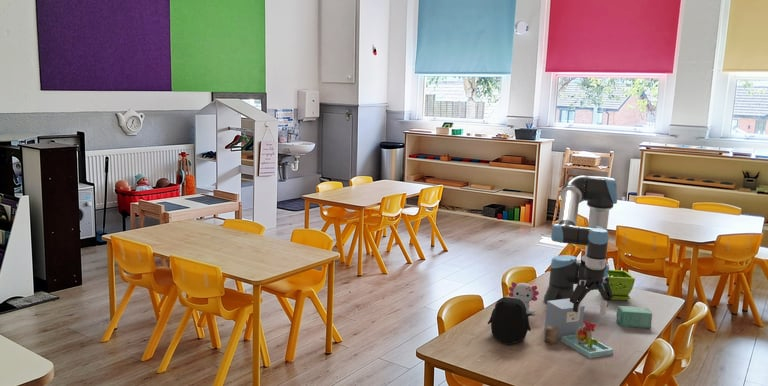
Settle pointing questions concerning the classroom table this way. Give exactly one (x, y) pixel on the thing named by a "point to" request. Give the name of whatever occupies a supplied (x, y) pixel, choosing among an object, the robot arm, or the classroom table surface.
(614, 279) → the flower pot
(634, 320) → the box
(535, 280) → the classroom table surface
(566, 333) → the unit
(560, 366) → the classroom table surface
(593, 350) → the tray
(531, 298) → the toy
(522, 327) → the penguin
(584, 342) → the bird rattle
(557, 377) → the classroom table surface
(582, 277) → the robot arm
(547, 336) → the walnut dowel
